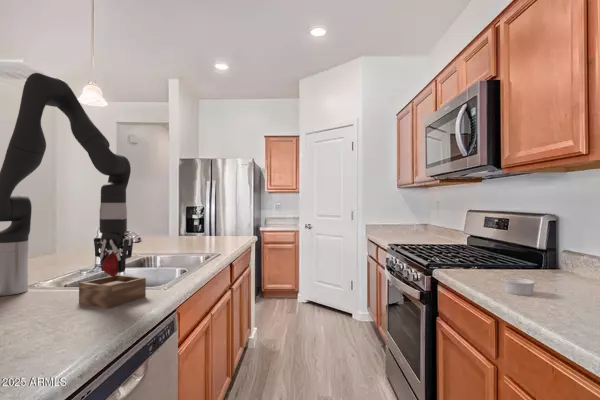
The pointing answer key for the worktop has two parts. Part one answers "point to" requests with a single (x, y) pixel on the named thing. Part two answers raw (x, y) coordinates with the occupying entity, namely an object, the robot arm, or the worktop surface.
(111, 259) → the onion
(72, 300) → the worktop surface
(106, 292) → the wooden box
